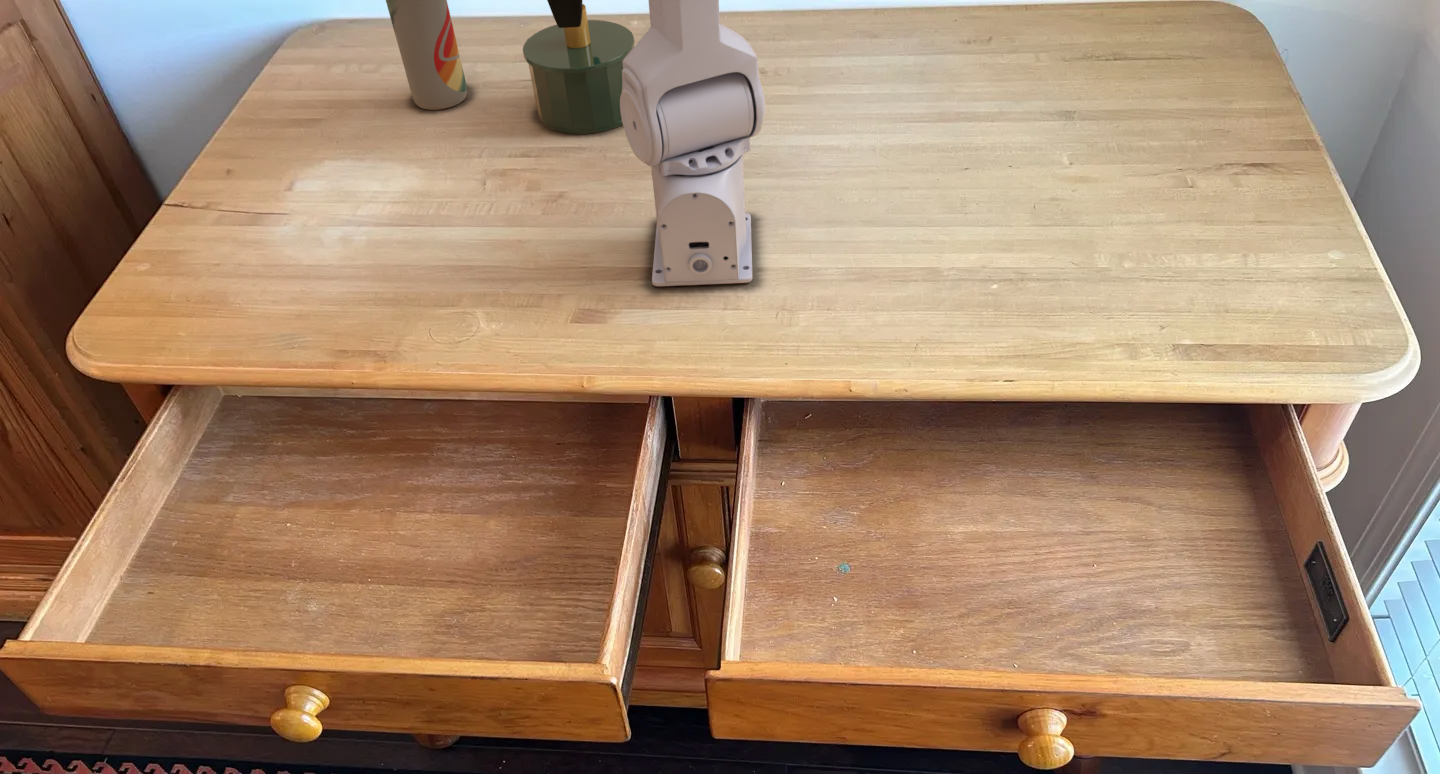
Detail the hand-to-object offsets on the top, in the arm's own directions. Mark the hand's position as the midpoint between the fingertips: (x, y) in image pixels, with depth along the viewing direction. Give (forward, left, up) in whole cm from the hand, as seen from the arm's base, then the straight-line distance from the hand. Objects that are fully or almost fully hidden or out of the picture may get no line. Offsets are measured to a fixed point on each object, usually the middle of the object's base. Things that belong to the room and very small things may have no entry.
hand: (574, 8), depth 100 cm
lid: (0, 0, -4) cm, 4 cm away
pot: (0, 0, -10) cm, 10 cm away
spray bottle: (+4, +16, -11) cm, 20 cm away
